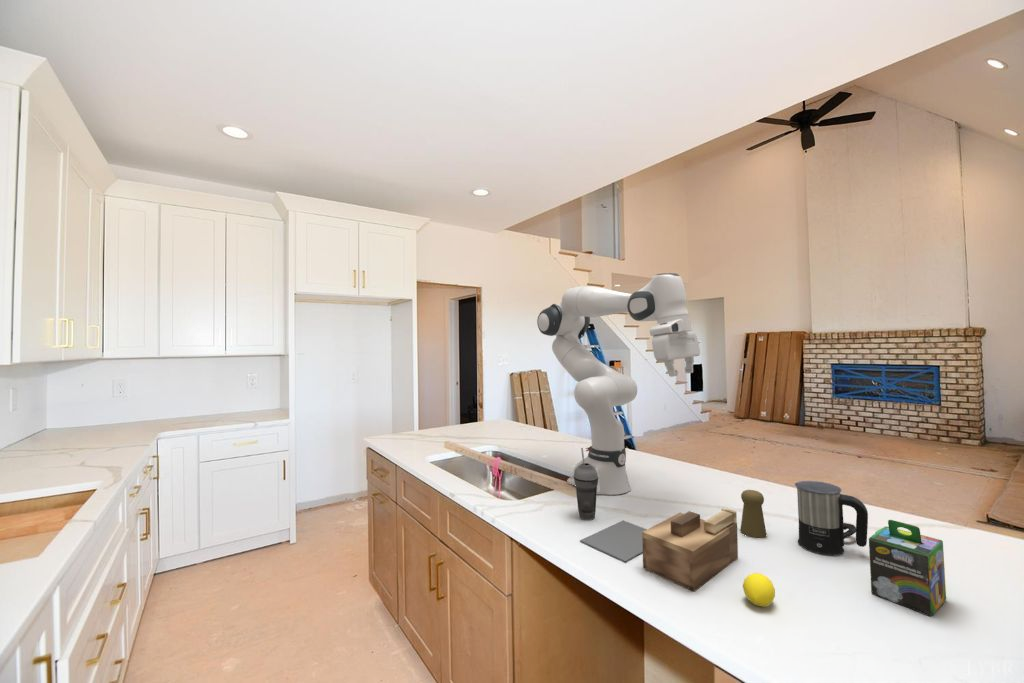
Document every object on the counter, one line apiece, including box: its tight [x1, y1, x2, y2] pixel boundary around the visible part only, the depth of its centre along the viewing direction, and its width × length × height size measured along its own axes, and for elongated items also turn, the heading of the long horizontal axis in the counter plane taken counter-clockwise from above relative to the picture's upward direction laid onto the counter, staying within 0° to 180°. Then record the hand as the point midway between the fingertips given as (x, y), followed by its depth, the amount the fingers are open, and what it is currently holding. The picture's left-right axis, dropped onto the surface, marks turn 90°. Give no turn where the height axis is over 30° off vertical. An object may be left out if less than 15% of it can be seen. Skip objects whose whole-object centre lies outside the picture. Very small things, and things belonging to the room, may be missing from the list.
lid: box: [642, 510, 729, 557], centre depth 97 cm, size 12×16×5 cm
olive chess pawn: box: [739, 489, 768, 539], centre depth 112 cm, size 6×6×11 cm
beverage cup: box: [573, 447, 599, 521], centre depth 125 cm, size 7×7×20 cm
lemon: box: [742, 572, 776, 607], centre depth 83 cm, size 7×5×5 cm
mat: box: [579, 520, 648, 564], centre depth 110 cm, size 14×18×1 cm
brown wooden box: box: [642, 522, 739, 592], centre depth 98 cm, size 12×20×8 cm, turn 129°
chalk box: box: [868, 519, 947, 617], centre depth 84 cm, size 9×9×15 cm
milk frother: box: [794, 480, 869, 556], centre depth 107 cm, size 14×16×15 cm
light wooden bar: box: [704, 507, 738, 534], centre depth 98 cm, size 3×10×3 cm, turn 129°
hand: (681, 374), depth 124 cm, fingers open, 8 cm apart
